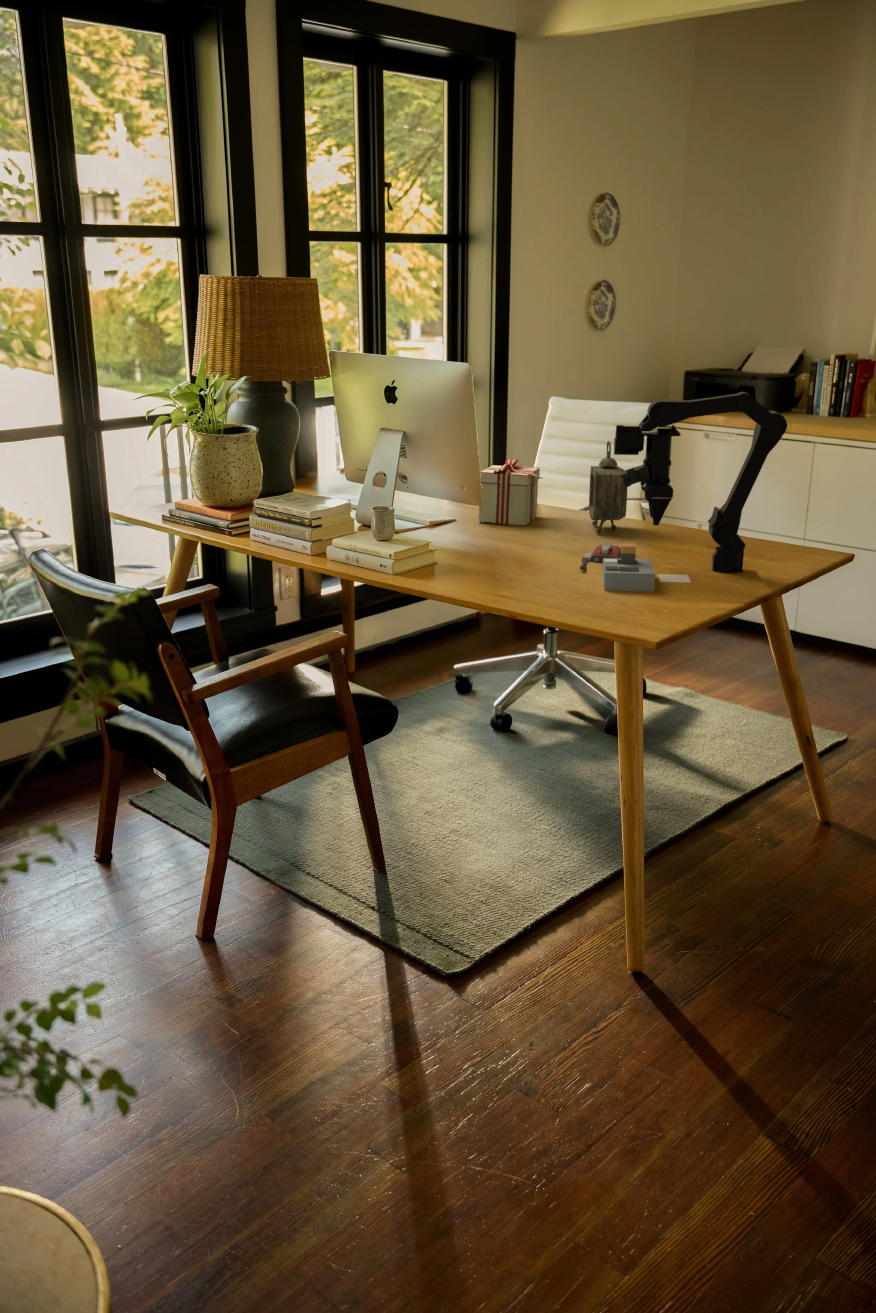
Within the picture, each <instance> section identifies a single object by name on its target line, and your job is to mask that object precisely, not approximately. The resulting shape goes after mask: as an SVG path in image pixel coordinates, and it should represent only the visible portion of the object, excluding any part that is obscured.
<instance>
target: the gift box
mask: <svg viewBox="0 0 876 1313" xmlns="http://www.w3.org/2000/svg"><path fill="white" fill-rule="evenodd" d="M518 462H519V459H506V460H505V462H504V464H503V465H496V464H495V465H494V464H492V465H490V466H489V467H487V468H484V469H483V470H480V471H479V472H480V473H481V483H482V485H483V488H482V495H483V500H482V504H481V506H479V505H478V522H479V521H481V522H480V523H485V522H492V523H491V524H497V523H499V525H510V524H511V525H512V526H523V525H525V526H527V525H529V524H530V523H531V522H532V521H533V520H535V519H536V518H537V517H536V516H537V514H538V512H537V510H538V493H539V491H538V490H539V488H538V487H539V486H538V485H539V479H542V480H543V477H541V474H540V472H541V470H540V468H541V467H540V466H539V467H535V466H534V467H531V466H524V465H517V463H518ZM535 517H536V518H535ZM534 518H535V519H534ZM531 520H532V521H531ZM530 521H531V522H530ZM529 522H530V523H529ZM511 525H510V526H511Z"/></svg>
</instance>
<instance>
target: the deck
mask: <svg viewBox="0 0 876 1313" xmlns="http://www.w3.org/2000/svg"><path fill="white" fill-rule="evenodd" d="M657 576H658V580H659V582H660V583H690V584H691V583H692V581H691V579H690V576H689V574H672V573H671V574H666V573H664V574H663V573H659V574H658V573H657Z"/></svg>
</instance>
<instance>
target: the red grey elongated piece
mask: <svg viewBox="0 0 876 1313" xmlns="http://www.w3.org/2000/svg"><path fill="white" fill-rule="evenodd" d="M603 558H621V546H618V545H613V544H605V543H604V544H600V545H599V546H596V548H595V549H594V550H593V552H586V553H584V555H582V557H581V565H580V566H579V570H581V571H583V570H584V569H585V567H586V566H588V565H587V564H588V563H589V562H591V563H603Z"/></svg>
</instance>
